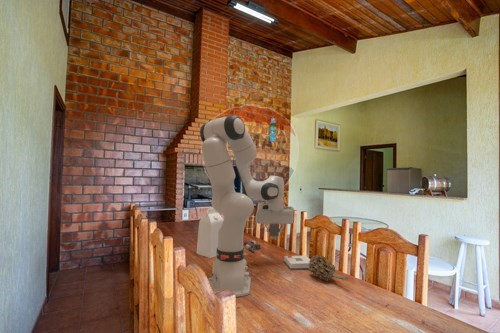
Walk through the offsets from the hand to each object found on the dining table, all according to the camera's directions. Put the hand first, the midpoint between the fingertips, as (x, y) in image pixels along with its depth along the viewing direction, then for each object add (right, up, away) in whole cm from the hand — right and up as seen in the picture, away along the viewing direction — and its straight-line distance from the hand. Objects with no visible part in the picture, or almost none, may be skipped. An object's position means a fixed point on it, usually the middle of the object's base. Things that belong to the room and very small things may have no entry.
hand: (274, 232), depth 144 cm
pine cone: (+22, -17, -23) cm, 36 cm away
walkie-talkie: (-11, -17, +25) cm, 32 cm away
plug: (0, -4, 0) cm, 4 cm away
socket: (+12, -17, -3) cm, 21 cm away
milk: (-35, -16, +13) cm, 41 cm away
